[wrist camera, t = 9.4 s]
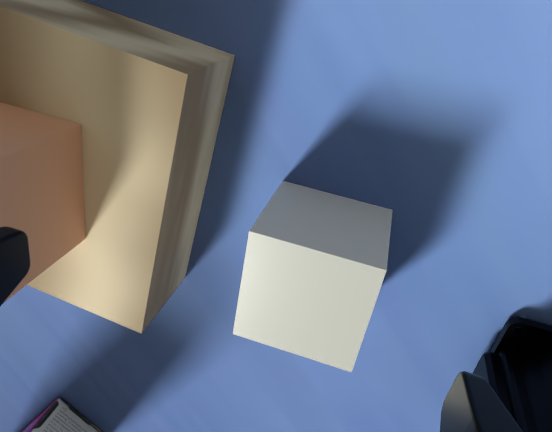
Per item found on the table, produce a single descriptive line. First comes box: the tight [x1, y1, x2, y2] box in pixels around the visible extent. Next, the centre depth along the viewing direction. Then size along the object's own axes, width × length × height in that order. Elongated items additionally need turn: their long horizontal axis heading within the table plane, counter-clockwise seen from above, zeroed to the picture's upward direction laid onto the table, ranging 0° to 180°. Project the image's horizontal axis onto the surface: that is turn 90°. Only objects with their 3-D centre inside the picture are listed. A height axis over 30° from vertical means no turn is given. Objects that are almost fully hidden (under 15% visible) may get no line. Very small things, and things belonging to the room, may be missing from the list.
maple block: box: [0, 0, 235, 334], centre depth 21 cm, size 12×12×5 cm
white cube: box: [233, 181, 393, 372], centre depth 20 cm, size 5×5×5 cm
